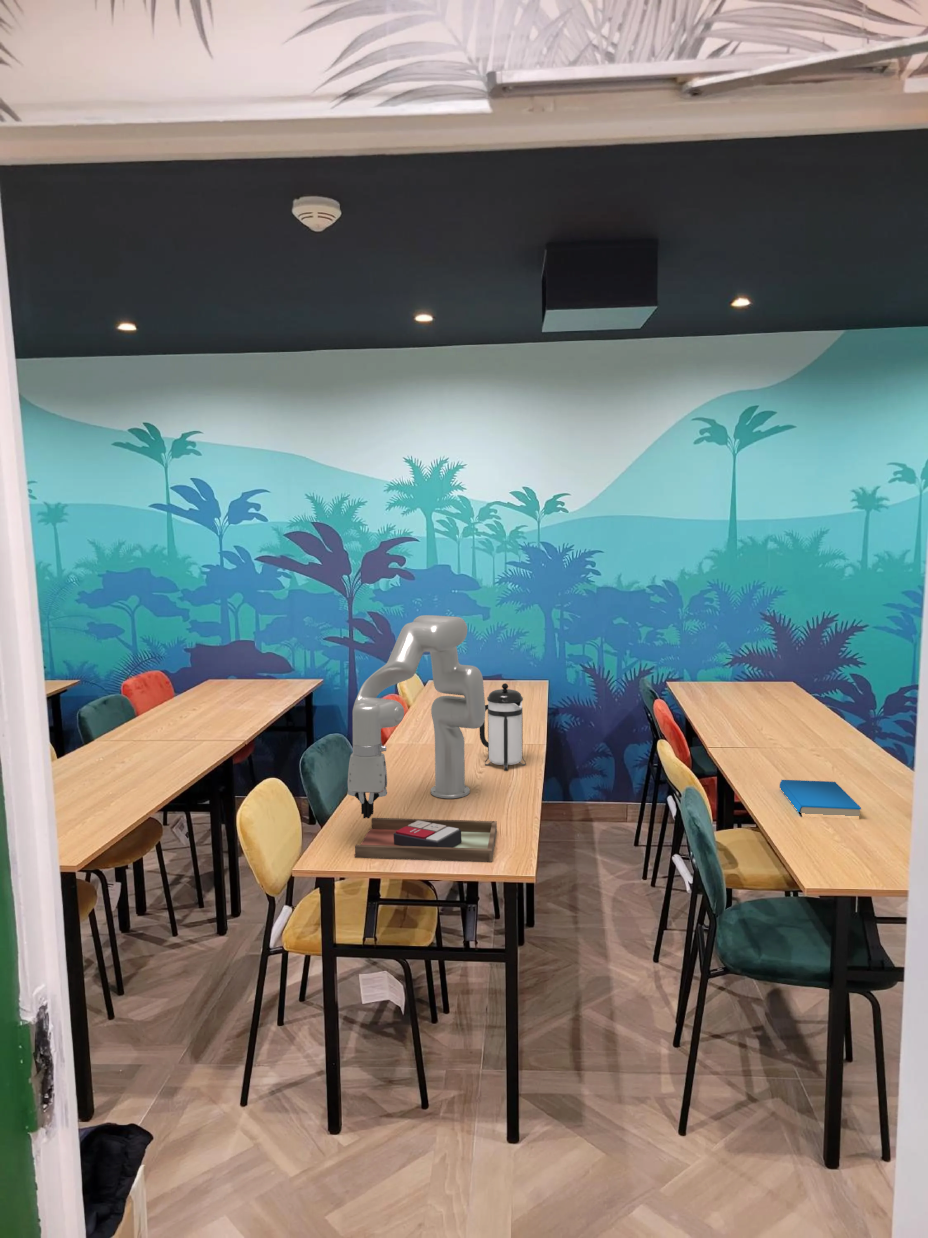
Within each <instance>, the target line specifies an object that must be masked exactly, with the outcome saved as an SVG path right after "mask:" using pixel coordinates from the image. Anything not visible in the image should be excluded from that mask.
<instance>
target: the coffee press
mask: <svg viewBox="0 0 928 1238" xmlns="http://www.w3.org/2000/svg"><path fill="white" fill-rule="evenodd" d="M508 688H509V685H508V684H507V683H502V684H501V688H500V689H495V690H492V691H491V692H490V693H489V694H488V696H487V698H486V700H487V704H485V713H486V712H487V737H488V740H487V739H486V735H485V734H486V733H485V732H486V731H485V730H486V729H485V727H486V724H485V723H486V721H485V720H484V723H483V725H482V726H481V727H479V740H480V742H481V744H482V745H483V746H484V747H486V748H487V752H488V757H486V760H485V761H484V765H485V766H487V767H488V766H489V765H491V764H494V765H500V766H503V771H504V772H505V771H506V772H507V771H509V767H508V766H512V765H516V764H520V765H522V766H526V764H527V763H526V760H525V759H524V757H523V754H524V753H523V746H524V745H523V743H524V741H523V734H524V733H523V732H524V731H523V729H524V728H523V727H524V725H523V701H524V697H523V696H522V694H521V692H519V691H518V690H516V689H510V688H509V689H508ZM488 760H489V761H490V762H488V763H487V761H488ZM522 761H524V764H523V763H522Z"/></svg>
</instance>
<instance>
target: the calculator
mask: <svg viewBox="0 0 928 1238" xmlns="http://www.w3.org/2000/svg"><path fill="white" fill-rule="evenodd" d="M461 842H462V839H461V830H460V829H458V828H453V827H446V825H440V824H435V823H432V824H431V823H429V822H424V821H416V822H414V823H412V824H410V825H408V826H406V827H403V828H401V829H399V830H397V831H396V833H394V844H395V845H400V846H419V847H451V848H453V847H454V846H456V845H458V844H460V843H461Z"/></svg>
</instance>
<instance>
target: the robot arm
mask: <svg viewBox="0 0 928 1238" xmlns="http://www.w3.org/2000/svg"><path fill="white" fill-rule="evenodd" d="M467 634H468V625H467V623H466V621H465V619H463V618H462V617H459V616H448V615H432V614H426V615H425V614H424V615H423V614H422V615H419V616H417V617H415V618H414V619H413V621H412V622H407V623H405V624H404V626H403V627H402V628H401V630H400V633H399V635H398V636H397V639H396V641H395V643H394V646H393V648H392V651H391V653H390V655H389V658H388V660H387V662H386V663H385V664H384V665H383V666H381V667H380V668H378V669H377V670H376V671H374V672H373V673H372V674H371V675H370V676H369V677H368V678H367V679H365V681H364V682H363V683H362V685H361V686H360V689H359V691H358V693H357V695H356V698H355V701H354V703H353V707H352V753H350V756H349V760H348V761H349V762H348V770H347V792H346V794H347V795H348V796H351V797H355V798H356V799H357V800H358V801H359V803H360V805H361V808H360V809H361V810H360V811H361V812H360V813H361V815H363V816H362V818H363V819H371V818H372V815H373V814H374V808H375V807H374V802H375V801H376V800H377V799H378V798H383V797H386V796H387V795H388V790H387V786H388V773H387V772H388V771H387V763H386V762H387V761H386V757H385V754H384V753H383V752H386V751H387V746H386V745H383V744H382V732H381V731H382V729H385V728H394V727H396V726H398V725H399V724H401V722H402V721H403V720H404V716H405V708H404V706H403V705H402V704H401V702H399V701H397V700H395V699H389V698H388V699H387V698H386V699H385V698H381V697H378V696H379V694H380V693H382V692H383V691H385V689H388V688H390V687H392V686H394V685H397V684H399V683H402V682H403V683H404V682H405V681H408V680H410V679H412V678H413V677H414V676H415V675H416V672H417V669H418V667H419V664H420V662H421V659H422V657H423V655H424V653H430V660H431V661H430V662H431V671H432V672H431V674H432V681H433V687H434V689H435V691H437V692H438V693H441V694H446V695H442V696H438V697H437V698H435V699H434V700H433V702H432V704H431V707H430V708H431V709H430V711H431V718H432V723H433V724H432V725H433V732H434V767H435V768H434V772H435V775H434V777H435V779H434V780H435V781H434V783H435V785H433V786H432V787H431V788H430V794H431V796H434V797H436V798H439V799H451V800H452V799H459V798H464V797H466V796H468V795H469V794H470V792H471V791H470V790H471V789H470V787H469V786H467V785H466V783H465V782H466V781H465V780H466V778H465V777H466V775H465V772H466V770H465V765H466V764H465V761H466V760H465V737H464V734H463V732H462V730H461V728H463V729H474V730H476V729H480V727H481V726H482V725H483V723H484V720H485V719H486V712H485V705H486V700H485V699H486V698H485V687H484V685H485V684H484V679H483V678H484V677H483V674H482V672H481V670H480V669H479V668H478V667H477V666H476V665H470V664H469V665H468V664H461V663H460V662H459V654H458V648H457V647H458V646H460V645H461V644H462V643H463V642H464V641H465V640H466V638H467ZM455 695H457V696H455ZM367 793H369V794H368V795H369V797H368V799H367Z"/></svg>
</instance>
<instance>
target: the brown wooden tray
mask: <svg viewBox="0 0 928 1238" xmlns="http://www.w3.org/2000/svg"><path fill="white" fill-rule="evenodd" d="M370 819H371V822H370V823H371V828H369V829H368V831H367V833H366V834H365V836H364V838H363V839H362V841H361V843H360V844H355V845H354V854H353V856H354V858H355V859H356V858H357V859H358V858H360V859H362V858H364V859H390V860H393V859H394V860H415V861H416V860H419V861H420V860H421V861H447V862H448V861H453V862H455V861H456V862H476V863H477V862H482V863H483V862H484V863H492V862H493V857H494V851H495V844H496V839H497V833H498V826H497V824H498V823H497V822H498V821H497V820H471V819H470V820H467V819H463V820H462V819H437V818H436V819H430V818H399V817H398V818H397V817H371V818H370ZM416 821H424V822H429V823H431V824H432V823H435V824H440V825H446V827H453V828H458V829H460V830H461V839H462V842H461V843H460V844H458V845H456V846H454V847H453V848H451V847H419V846H400V845H395V844H394V833H396V831H397V830H399V829H401V828H403V827H406V826H408V825H410V824H412V823H414V822H416Z"/></svg>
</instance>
